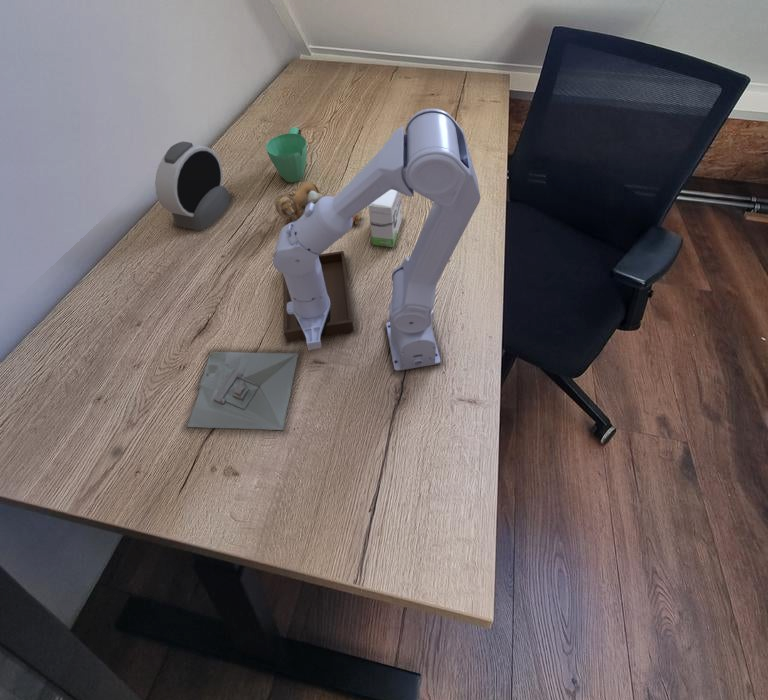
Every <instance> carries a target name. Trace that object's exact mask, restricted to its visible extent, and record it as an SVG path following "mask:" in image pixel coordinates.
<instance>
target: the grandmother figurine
mask: <svg viewBox="0 0 768 700" xmlns="http://www.w3.org/2000/svg"><path fill="white" fill-rule="evenodd" d="M320 193H321V192H319V193H317V192H315V191H310V193H309V194H308V201H309V203H310V202H312V203H313V204H315V203H316V202H317V201H319V200H320V199H321V198H322V197H324V195H323V194H322V193H321V194H320ZM364 211H365V208H364V209H363V210H361V211H360V212H358V213H357V214H356V215H354V216H353V217H352V219H353V223H354V224H355V226H357V225H358V223H359V221H360V220H361V218H362V215H363V213H364Z"/></svg>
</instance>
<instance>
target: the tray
mask: <svg viewBox="0 0 768 700" xmlns="http://www.w3.org/2000/svg"><path fill="white" fill-rule="evenodd" d="M319 260H320V263H321V268H322V272H323V277H324V282H325V286H326V291H327V294H328V296H329V299H330V313H331V319H330V322H329V323H327V325H326V333H325V335H323V336H322V337H325V336H330V335H337V334H344V333H349V332H354V331H355V328H354V320H353V311H352V303H351V296H350V295H351V294H350V287H349V280H348V272H347V263H346V257H345V251H344V250H339V251H333V252H327V253H321V254H320V255H319ZM288 302H292V300H291V297H290V294H289V291H288V287H287V284H286V281H285V278H284V277H283V335H284V338H285V341H286V342H287V343H289V342H294V341H301V340H306V337H305V334H304V332H303V330H302V328H301V327H299V326H298V324H297V320H296V316H295V315H294V314H288V313H287V303H288Z"/></svg>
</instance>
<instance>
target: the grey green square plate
mask: <svg viewBox="0 0 768 700" xmlns="http://www.w3.org/2000/svg"><path fill="white" fill-rule="evenodd" d="M298 357H299V353H291V352H290V353H289V352H288V353H287V352H286V353H285V352H284V353H283V352H238V351H237V352H235V351H234V352H233V351H211V352H210V354H209V357H208V359H207V361H206V365H205V367H204V371H203V374H202V376H201V379H200V381H199V385H198V389H199V391H198V394H197V398H196V400H195V403H194V406H193V408H192V412H191V413H190V417H189V420H188V423H187V428H204V429H205V428H206V429H207V428H209V429H235V430H236V429H237V430H238V429H240V430H268V431H269V430H270V431H284V428H285V423H286V417H287V412H288V408H289V401H290V397H291V392H292V388H293V382H294V377H295V372H296V369H297V362H298Z"/></svg>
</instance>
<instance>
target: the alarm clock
mask: <svg viewBox="0 0 768 700" xmlns="http://www.w3.org/2000/svg"><path fill="white" fill-rule="evenodd" d="M223 179H224V178H223V167H222V163H221V161H220V158H219V156H218V154H217V153H216V152H215V151H214V150H213V149H212V148H209V147H208V146H203V145H198V144H193V143H192V142H189V141H179V142H177V143H175V144H173V145H172V146H170V147H169V148H168V149H167V151H166V152H165V154H164V155H163V157H162V159H161V160H160V162H159V164H158V166H157V169H156V173H155V181H154V186H155V195H156V198H157V200H158V203H159V204H160V205H161V206H162V208H163V209H164V210H166V211H167V212H169V213H171V214H172V217H173V220H174V224H175V226H177V227H181V228H184V229H189V230H193V231H197V232H202V231H204V230H206V229H207V228H209V227H210V226H212V225H213V224H214V223H215V222H217V220H219V218H220V217H222V215H223V214H224V213H225V212H226V210H227V209H228V207H229V204H230V203H231V200H232V196H231V195H230V193H229V192H228V189H227V188H226V187H225V186H224V185H223Z"/></svg>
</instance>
